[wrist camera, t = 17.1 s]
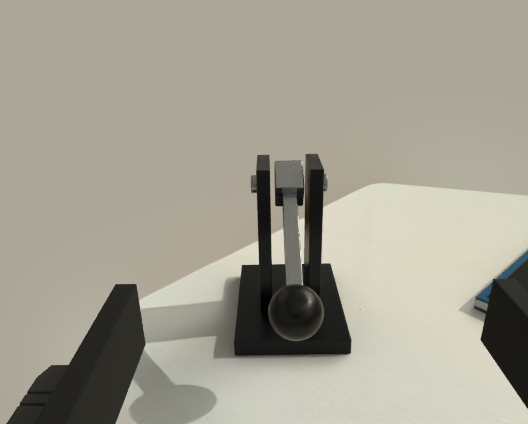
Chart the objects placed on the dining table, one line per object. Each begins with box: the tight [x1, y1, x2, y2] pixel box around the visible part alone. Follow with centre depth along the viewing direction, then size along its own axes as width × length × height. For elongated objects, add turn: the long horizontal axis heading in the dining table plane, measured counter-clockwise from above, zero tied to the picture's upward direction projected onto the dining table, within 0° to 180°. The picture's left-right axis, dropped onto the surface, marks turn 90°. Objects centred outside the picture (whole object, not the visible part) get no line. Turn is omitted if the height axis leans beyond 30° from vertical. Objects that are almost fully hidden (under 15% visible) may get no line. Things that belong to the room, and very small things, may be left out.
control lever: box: [268, 160, 324, 341], centre depth 32 cm, size 14×4×4 cm
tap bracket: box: [234, 154, 351, 355], centre depth 37 cm, size 12×9×14 cm
